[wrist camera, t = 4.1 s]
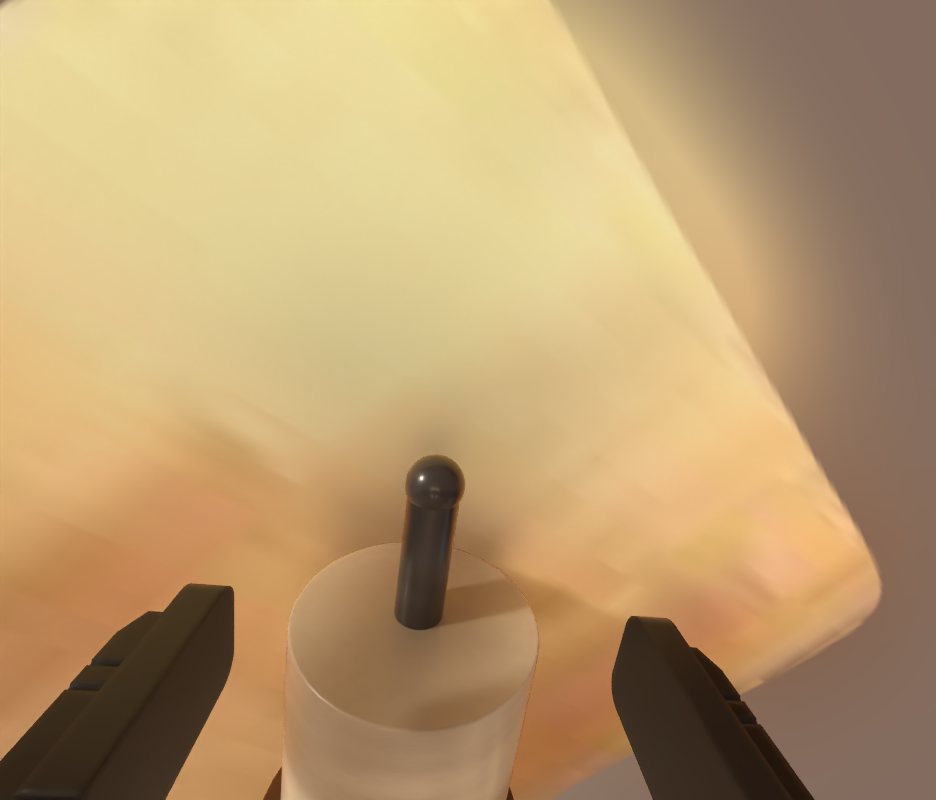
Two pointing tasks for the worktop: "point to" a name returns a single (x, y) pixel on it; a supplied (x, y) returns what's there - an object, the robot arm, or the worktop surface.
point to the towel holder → (407, 665)
